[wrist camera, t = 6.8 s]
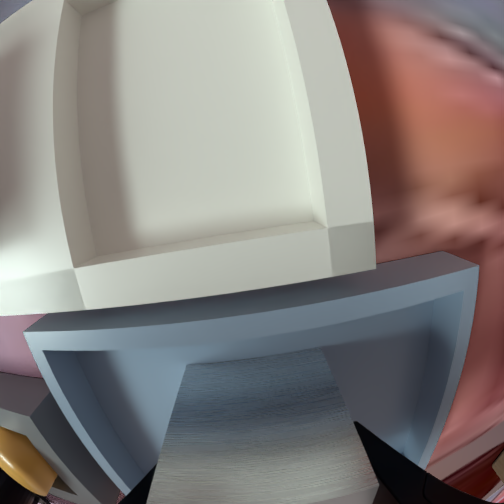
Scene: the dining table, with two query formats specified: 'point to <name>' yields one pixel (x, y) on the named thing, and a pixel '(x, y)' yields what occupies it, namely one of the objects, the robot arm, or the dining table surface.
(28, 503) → the robot arm
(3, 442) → the button
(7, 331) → the dining table surface
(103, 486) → the grey square frame
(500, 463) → the wooden block
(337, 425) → the billet
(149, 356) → the tray
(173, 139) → the white divided tray
